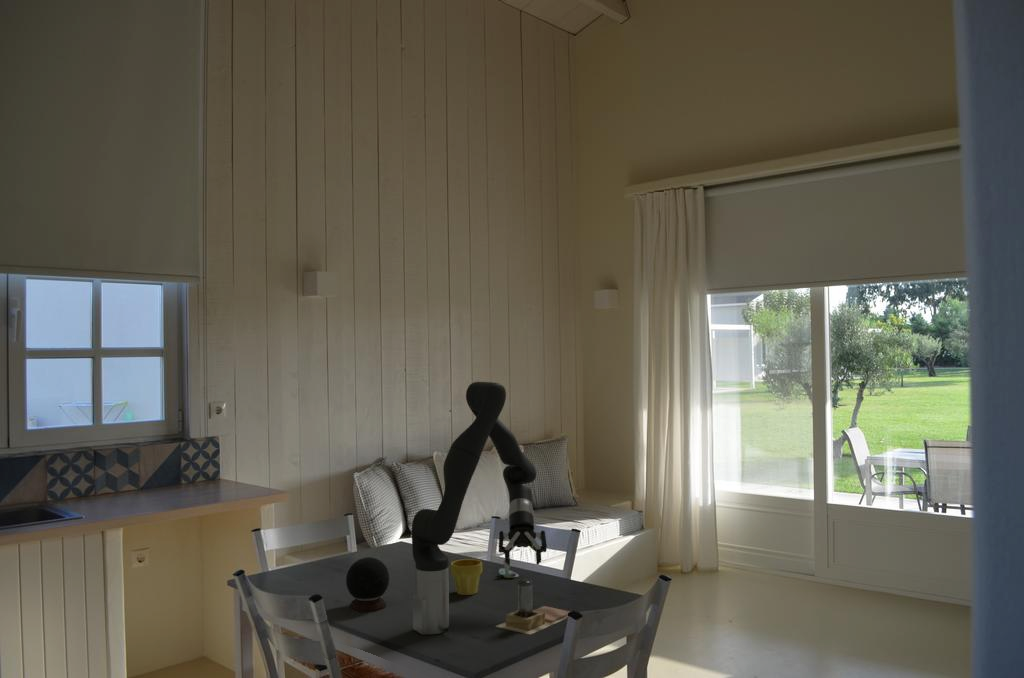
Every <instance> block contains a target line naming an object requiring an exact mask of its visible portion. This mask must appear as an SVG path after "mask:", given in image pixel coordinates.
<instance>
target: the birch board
mask: <svg viewBox="0 0 1024 678" xmlns="http://www.w3.org/2000/svg"><path fill="white" fill-rule="evenodd" d="M569 612H571V610H565V609H559V608H555V607H552V606H546V605H543V606H541V607H538V608H536V609H534V610H533V616H531V617H529V618H525V617H520V616H518V609H517V610H515V611H512V612H509V613H508V614H505V622H503V623H499V624H498V625H495V627H496V628H500V629H504V630H508V631H513V632H516V633H517V632H518V633H521V634H525V635H533V634H535V633H537V632H540V631H542V630H544V629H546V628H548V627H551V626H553V625H555V624H557V623H560V622H562V621H564V620H567V619H568V618H567V617H568V613H569Z"/></svg>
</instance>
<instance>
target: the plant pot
mask: <svg viewBox="0 0 1024 678" xmlns="http://www.w3.org/2000/svg"><path fill="white" fill-rule="evenodd" d="M450 573H451V575H452V576H453V581H454V585H455V589H456V594H458V595H460V596H470V595H471V596H473V595H476V594H477V593H478V589H479V583H480V578H481V574H482V573H483V562H482V561H481V560H480V559H479V560H478V559H474V558H473V559H472V558H471V559H470V558H464V559H457V560H453V561H451V563H450Z"/></svg>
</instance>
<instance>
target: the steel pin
mask: <svg viewBox="0 0 1024 678" xmlns="http://www.w3.org/2000/svg"><path fill="white" fill-rule="evenodd" d="M517 610H518V616H520V617H525V618H529V617H531V616H533V581H532V580H530V579H519V580H518V581H517Z"/></svg>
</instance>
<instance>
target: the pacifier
mask: <svg viewBox="0 0 1024 678" xmlns="http://www.w3.org/2000/svg"><path fill="white" fill-rule="evenodd" d="M503 566H504V567H502V568H499V570H498V573H499V574H500V575H502V576H503V577H504V578H507V579H513V578H514V579H515V578H518V577H519V574H518V573H517V572H515V571H512V570H510V568H511V564H510V565H507V563H505V559H504V560H503Z"/></svg>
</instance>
